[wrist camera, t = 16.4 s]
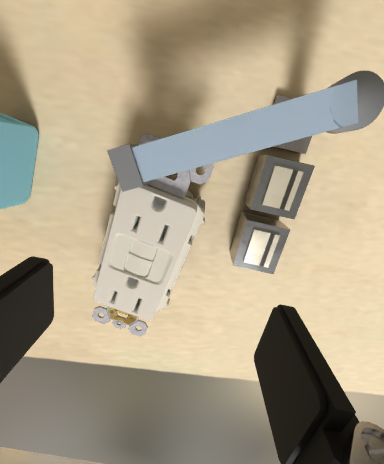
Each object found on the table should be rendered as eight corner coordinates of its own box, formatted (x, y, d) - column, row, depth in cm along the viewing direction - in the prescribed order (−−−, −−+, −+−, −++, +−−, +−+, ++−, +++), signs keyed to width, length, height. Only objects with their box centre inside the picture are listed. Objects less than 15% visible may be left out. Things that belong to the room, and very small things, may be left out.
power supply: (258, 155, 32) (268, 154, 27) (298, 164, 32) (316, 166, 27) (244, 202, 34) (251, 210, 29) (282, 210, 34) (295, 220, 29)
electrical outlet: (224, 160, 32) (230, 169, 23) (163, 304, 43) (150, 349, 34) (148, 128, 31) (121, 124, 22) (105, 283, 42) (75, 324, 33)
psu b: (241, 211, 35) (247, 220, 30) (278, 219, 35) (291, 230, 30) (229, 251, 37) (233, 266, 32) (264, 259, 37) (274, 275, 32)
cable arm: (362, 74, 18) (389, 61, 16) (364, 126, 20) (389, 121, 17) (118, 149, 21) (106, 148, 19) (132, 189, 23) (123, 194, 20)
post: (275, 96, 30) (316, 62, 19) (319, 107, 30) (384, 78, 19) (261, 144, 32) (290, 137, 21) (302, 153, 32) (353, 152, 21)
